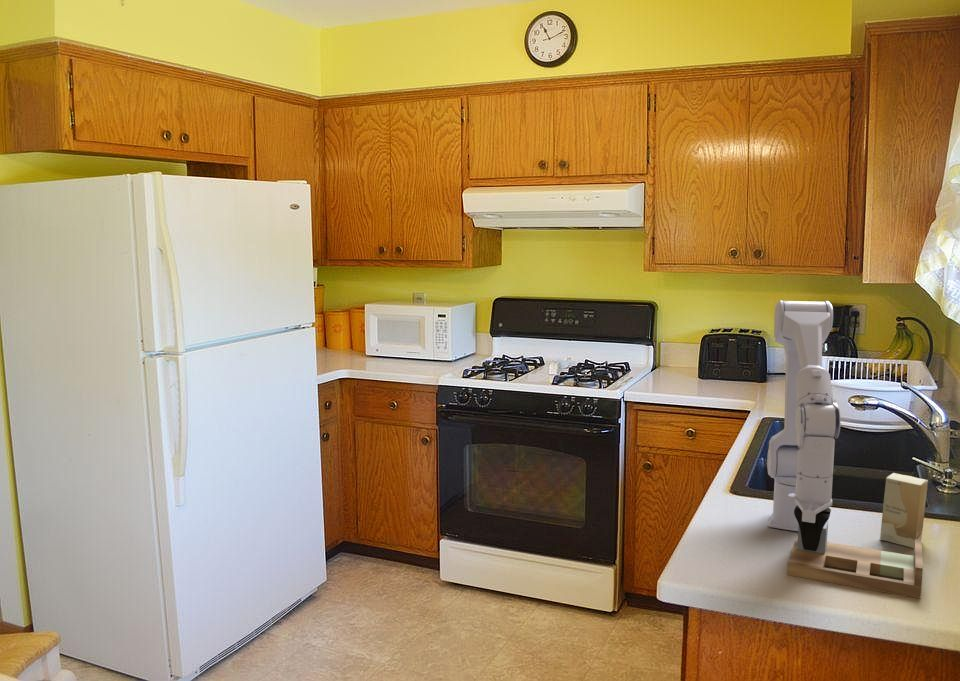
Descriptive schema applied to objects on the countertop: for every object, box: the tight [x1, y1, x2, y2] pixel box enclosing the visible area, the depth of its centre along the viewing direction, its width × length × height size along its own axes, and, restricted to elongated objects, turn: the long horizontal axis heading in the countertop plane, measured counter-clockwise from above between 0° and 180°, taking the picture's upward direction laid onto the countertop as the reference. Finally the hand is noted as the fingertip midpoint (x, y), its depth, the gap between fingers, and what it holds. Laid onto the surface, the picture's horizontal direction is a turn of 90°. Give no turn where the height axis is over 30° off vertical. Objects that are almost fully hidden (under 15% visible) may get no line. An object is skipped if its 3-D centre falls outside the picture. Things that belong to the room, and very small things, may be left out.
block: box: [797, 520, 829, 554], centre depth 147 cm, size 4×4×4 cm
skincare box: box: [879, 472, 929, 549], centre depth 154 cm, size 6×4×12 cm
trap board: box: [786, 536, 924, 599], centre depth 142 cm, size 13×20×5 cm, turn 63°
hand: (810, 549), depth 144 cm, fingers closed
